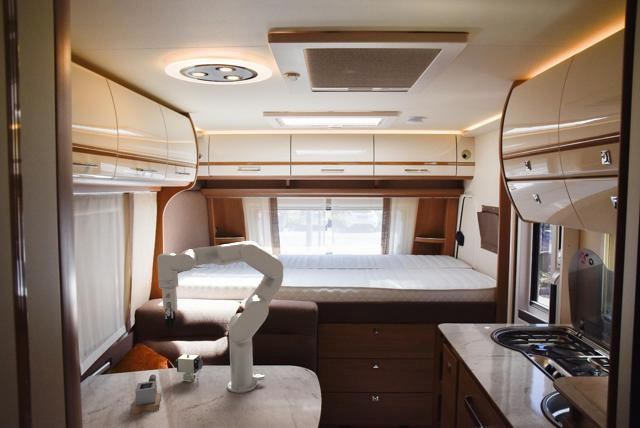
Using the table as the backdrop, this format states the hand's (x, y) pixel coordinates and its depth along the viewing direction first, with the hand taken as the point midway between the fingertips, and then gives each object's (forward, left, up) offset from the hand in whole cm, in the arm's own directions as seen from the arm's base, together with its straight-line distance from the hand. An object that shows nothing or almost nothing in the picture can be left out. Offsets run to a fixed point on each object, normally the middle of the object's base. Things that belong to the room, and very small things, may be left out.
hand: (170, 324), depth 168 cm
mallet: (+10, -3, -30) cm, 32 cm away
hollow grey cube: (+10, +5, -28) cm, 30 cm away
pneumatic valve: (-6, -12, -30) cm, 33 cm away
